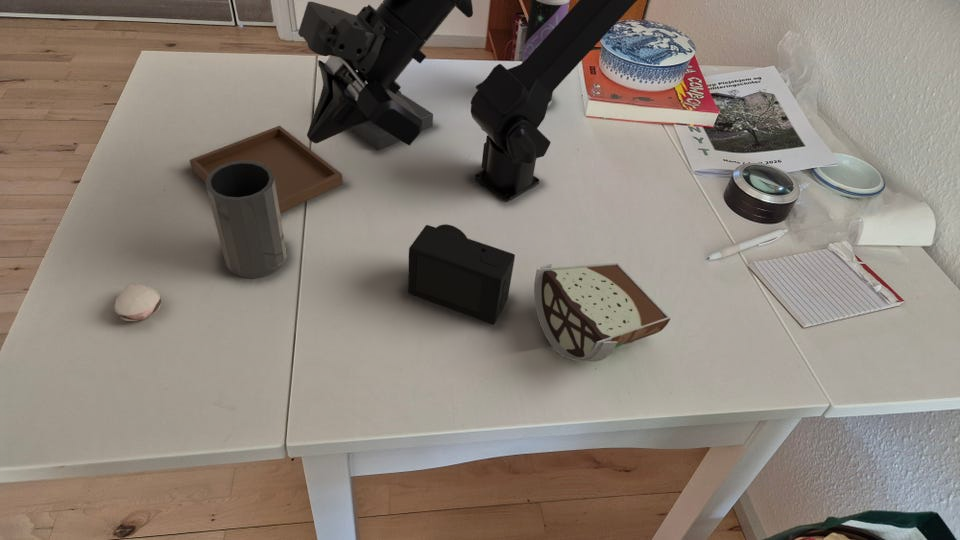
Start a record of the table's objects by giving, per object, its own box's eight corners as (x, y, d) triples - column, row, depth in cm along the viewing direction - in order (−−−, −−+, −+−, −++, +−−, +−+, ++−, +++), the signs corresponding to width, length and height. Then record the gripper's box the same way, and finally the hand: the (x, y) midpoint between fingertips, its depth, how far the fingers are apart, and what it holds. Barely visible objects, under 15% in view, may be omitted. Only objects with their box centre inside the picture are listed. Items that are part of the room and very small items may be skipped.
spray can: (513, 91, 107) (531, -37, 93) (546, 90, 108) (568, -37, 94) (521, 109, 103) (540, -22, 89) (555, 108, 104) (579, -21, 90)
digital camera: (512, 292, 75) (520, 246, 70) (495, 325, 71) (502, 279, 67) (428, 263, 77) (431, 217, 72) (408, 293, 74) (408, 247, 69)
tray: (342, 184, 86) (342, 173, 85) (251, 226, 79) (249, 215, 78) (281, 135, 93) (279, 125, 92) (191, 170, 86) (189, 159, 85)
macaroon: (124, 332, 67) (117, 315, 65) (110, 300, 69) (102, 283, 68) (168, 315, 69) (162, 298, 67) (153, 285, 71) (146, 268, 70)
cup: (297, 260, 76) (286, 182, 68) (245, 287, 72) (227, 208, 65) (265, 230, 79) (251, 153, 71) (214, 255, 75) (193, 176, 68)
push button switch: (432, 126, 98) (433, 102, 95) (379, 150, 92) (378, 125, 90) (381, 92, 103) (380, 69, 101) (327, 113, 98) (325, 89, 95)
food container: (593, 296, 78) (521, 310, 73) (609, 254, 74) (534, 266, 70) (658, 371, 70) (581, 391, 65) (680, 328, 66) (600, 346, 62)
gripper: (310, -64, 66) (220, 60, 70) (390, 19, 55) (279, 160, 59) (385, 0, 75) (302, 107, 78) (467, 83, 64) (366, 202, 68)
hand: (311, 140), depth 71 cm, fingers closed
